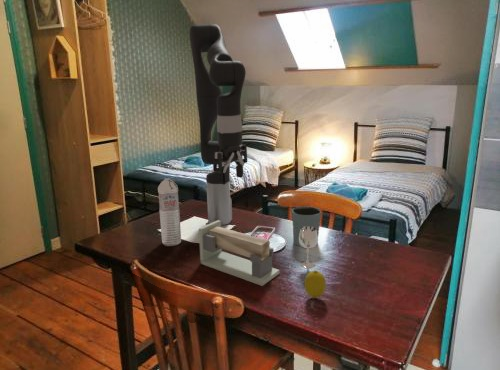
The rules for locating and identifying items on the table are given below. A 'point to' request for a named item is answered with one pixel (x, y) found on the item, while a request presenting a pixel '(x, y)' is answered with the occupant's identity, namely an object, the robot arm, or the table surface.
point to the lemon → (315, 284)
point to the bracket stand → (234, 259)
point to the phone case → (266, 227)
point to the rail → (240, 243)
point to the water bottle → (169, 212)
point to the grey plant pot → (304, 220)
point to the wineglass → (308, 242)
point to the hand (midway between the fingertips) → (231, 180)
